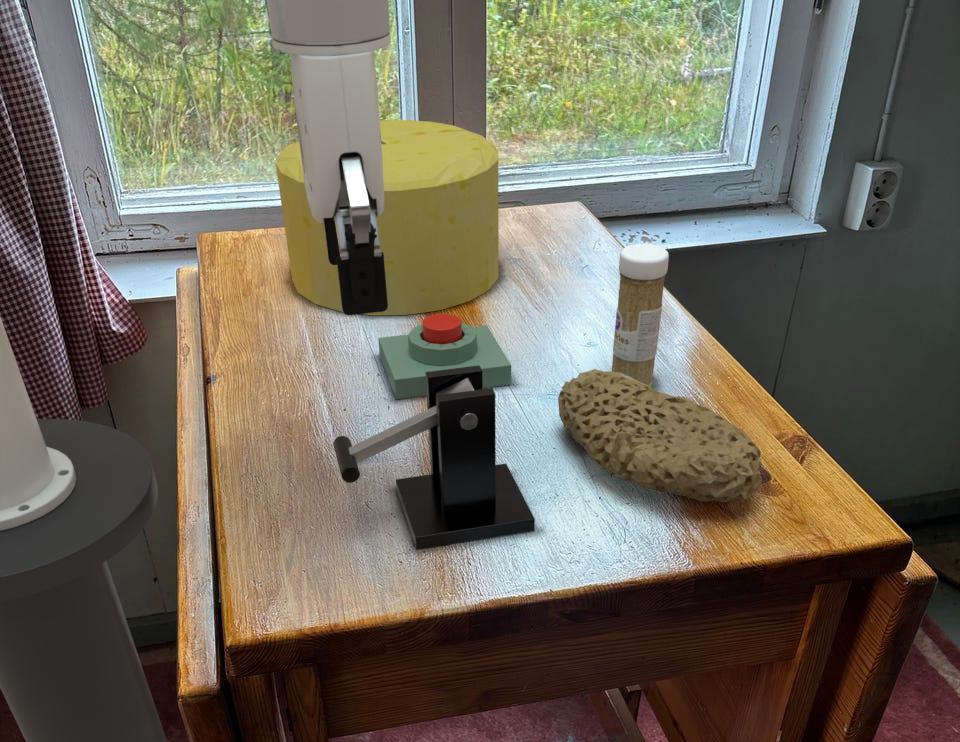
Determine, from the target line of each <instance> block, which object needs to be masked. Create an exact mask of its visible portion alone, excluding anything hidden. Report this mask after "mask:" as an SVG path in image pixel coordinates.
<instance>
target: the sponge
mask: <svg viewBox="0 0 960 742" xmlns="http://www.w3.org/2000/svg"><path fill="white" fill-rule="evenodd" d="M611 371H612V370H609V371H604V370H599V369H597V368H593V369H590V370H588V371H583V372H579V374H578V375H577V377H576V378H575V377H572V378H571V379H570V380H569V381H565V382H564V384H563V385H562V386H561V390H560V392H559V394H558V397H557V405H558V415H559V416H558V417H559V419H560V420H561V422H562V426H563V428H564V430H565V432H567V434H569V435H570V436H571V437H572V438H573V440H575V443H578V444H579V445H580V446H582V447H583V449H584V451H585V452H586V453H587V455H588V457H589V458H590V459H591V461H592V462H593V463H595V464H596V465H597V466H598V467H600V468H601V469H603V470H605V471H607V472H608V473H609V474H610V475H613V476H616V477H617V478H619V479H620V480H623V481H626V482H628V483H630V484H632V485H634V486H638V487H640V488H643V489H644V490H649V491H654V492H660V493H670V494H674V495H678V496H683V497H686V498H690V499H691V500H692V499H693V500H697V501H698V502H705V503H707V502H719V503H728V502H729V503H731V502H732V503H737V502H738V503H739V502H743V501H745V500H747V499H749V498H750V497H751V496H752V495H753V494H754V493H755V492H756V491H757V490H758V489H759V488H760V487H761V486H762V478H763V477H762V474H761V472H760V470H759V468H762V458H761V454H762V453H761V449H759V447H758V446H757V445H756V444H755V442H754V441H753V440H752V439H751V437H750V436H748V434H747V433H745V432H744V431H743V430H742V429H741V428H739V427H738V426H737V425H736V424H735V425H734V424H733V423H732V422H730V421H729V420H728V419H726V418H724V417H722V416H720V415H719V414H717V412H715V411H713V410H712V409H710V408H708V407H706V406H702V405H700V404H697V403H695V402H694V401H693V400H691V399H689V398H688V397H685V396H684V395H683V396H680V395H678V396H677V395H676V396H675V395H671V394H668V393H666V392H662V391H658V390H655V388H652V386H651V387H650V386H649V385H646V384H644V383H641V382H639V381H637V380H635V379H633V378H631V377H629V376H627V375H624V374H622V373H618V372H611Z"/></svg>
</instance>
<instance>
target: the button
mask: <svg viewBox="0 0 960 742" xmlns="http://www.w3.org/2000/svg"><path fill="white" fill-rule="evenodd" d="M461 322H462V319H461V317H459V316H457V315H454V314H451V313H435V314H432V315H431V314H430V315H429V316H426V317H424V319H423V320H422V321H421V324H422V327H423V340H424V341H426V342H428V343H433V344H449V343H454V342H457V341H459V340H461V339H462V323H463V322H462V323H461Z"/></svg>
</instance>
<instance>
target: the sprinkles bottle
mask: <svg viewBox="0 0 960 742" xmlns="http://www.w3.org/2000/svg"><path fill="white" fill-rule="evenodd" d="M669 259H670V254H669V252H668V250H667V249H665V248H664V247H662V246H659V245H656V244H652V243H635V244H630V245H627V246H625V247H623V248H622V249H621V251H620V253H619V260H618V261H619V262H618V271H619V287H618V298H617V308H616V312H615V313H616V314H615V324H614V325H615V326H614V335H613V343H612V344H613V345H612V352H613V353H612V363H611V370H610V371H611V372H618V373H622V374H624V375H627V376H629V377H631V378H633V379H635V380H637V381H639V382H641V383H644V384H646V385H649V386H650V387H651V388H652V386H653V385H654V382H655V381H654V379H655V378H654V369H655V362H656V356H657V352H658V344H659V343H658V342H659V336H660V328H661V319H662V310H663V297H664V296H663V294H664V286H665V278H666V275H667V273H668V268H669Z"/></svg>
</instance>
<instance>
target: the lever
mask: <svg viewBox="0 0 960 742" xmlns="http://www.w3.org/2000/svg"><path fill="white" fill-rule="evenodd" d="M473 390H474V388H473V386H472V384H471V383H470V381H469V379H468V378H466V379H464V380H462V381H460V382H458V383H456V384H454V385H451V386H449V387H447V388H445V389H443V390H441V391H439V392H437V393H436V395H442V394H450V393H458V392H465V391H473ZM436 425H437V405H436V406H434V407H432V408H430V409H428V410H427V409H426V410H423V411H422V412H420V413H417V414H415V415H413V416H412V417H409V418H406V419H405V420H403V421H400V422H399V423H397V424H395V425H392V426H391V427H389V428H386V429H385V430H382V431H381V432H378V433H376V434H374V435H372V436H370V437H368V438H366V439H364V440H362V441H360V442H357V443H356V444H354V445H353V444H352V441H351V439H350V438H349V437H347V436H346V435H340V436H337V437H336V438H334V440H333V442H332V447H333V450H334V454H335V458H336V461H337V465H338V468H339V472H340V477H341V479H342V480H343V481H344V482H345V483H347V484H353V483H356V482H357V481H358V480H359V479H360V477H361V471H360V469H359V466H358V465H359V463H362V462H364V461H366V460H368V459H370V458H372V457H374V456H376V455H378V454H380V453H382V452H384V451H386V450H388V449H391V448H392V447H394V446H397V445H398V444H401V443H403V442H405V441H407V440H409V439H412V438H413V437H415V436H417V435H419V434H421V433H424V432H425V431H429V429H430V428H432V427H434V426H436Z"/></svg>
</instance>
